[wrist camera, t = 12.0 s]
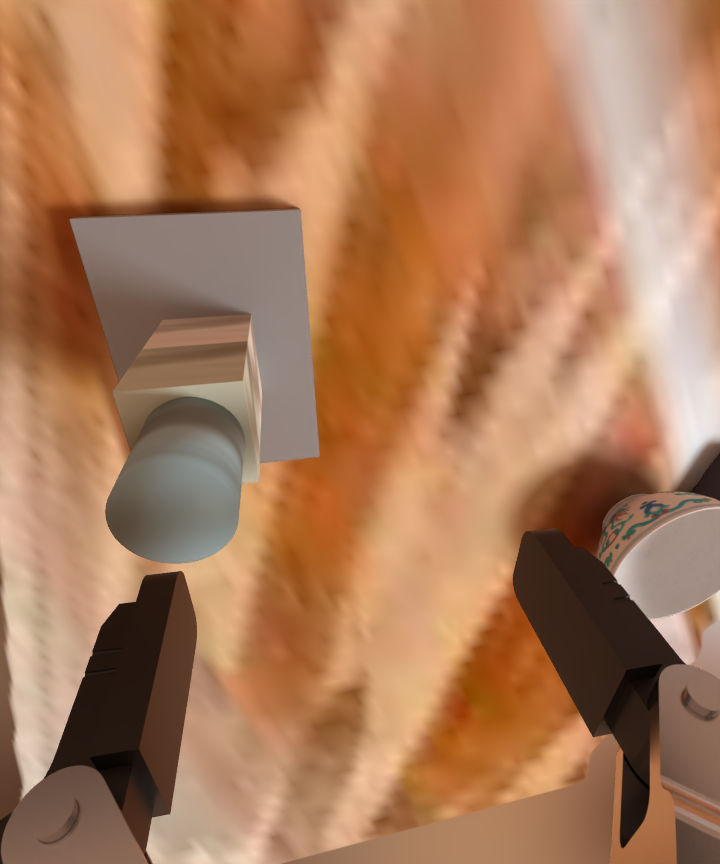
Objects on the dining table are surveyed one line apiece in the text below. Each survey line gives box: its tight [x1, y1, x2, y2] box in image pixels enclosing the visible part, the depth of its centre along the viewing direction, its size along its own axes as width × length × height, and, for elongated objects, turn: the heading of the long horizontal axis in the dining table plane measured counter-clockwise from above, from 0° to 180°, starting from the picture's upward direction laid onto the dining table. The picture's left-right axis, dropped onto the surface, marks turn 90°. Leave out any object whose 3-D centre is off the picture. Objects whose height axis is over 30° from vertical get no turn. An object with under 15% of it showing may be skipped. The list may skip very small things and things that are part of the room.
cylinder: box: [105, 397, 245, 564], centre depth 21 cm, size 5×5×6 cm
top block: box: [112, 341, 261, 483], centre depth 26 cm, size 6×6×6 cm
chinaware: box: [597, 491, 720, 620], centre depth 49 cm, size 15×15×8 cm
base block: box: [143, 314, 262, 428], centre depth 31 cm, size 6×6×6 cm
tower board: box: [70, 208, 320, 463], centre depth 35 cm, size 19×14×2 cm
